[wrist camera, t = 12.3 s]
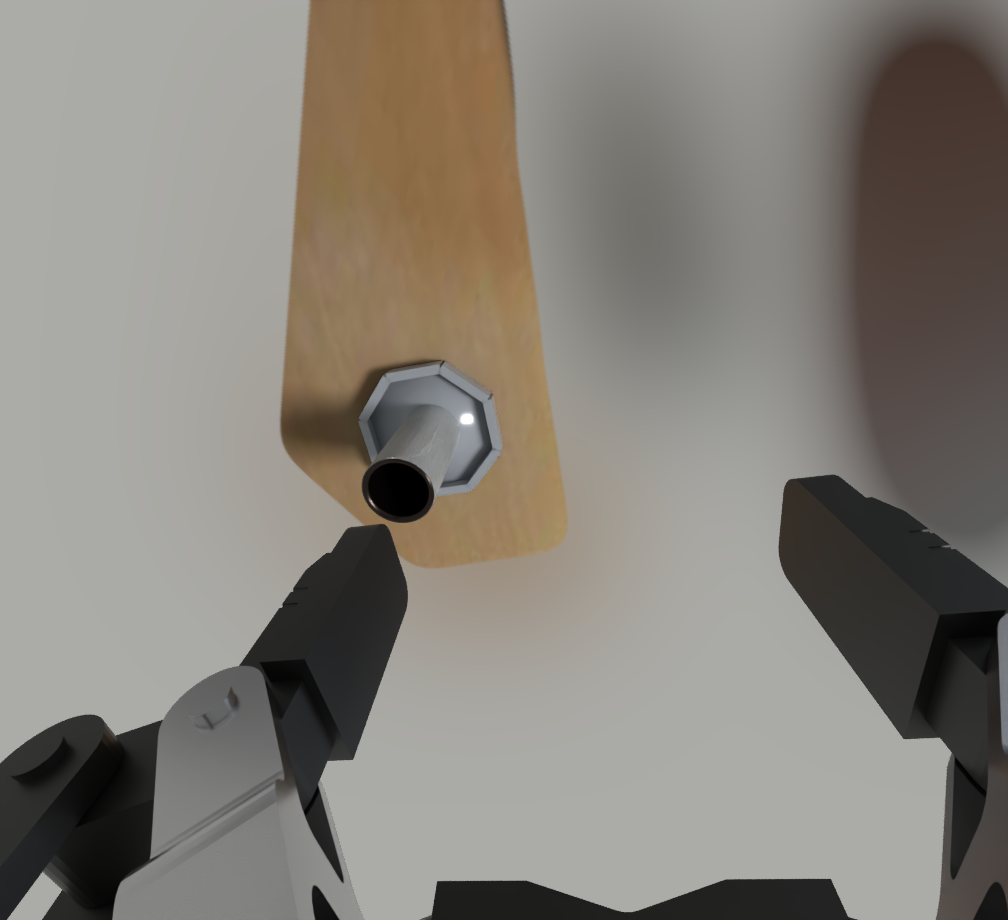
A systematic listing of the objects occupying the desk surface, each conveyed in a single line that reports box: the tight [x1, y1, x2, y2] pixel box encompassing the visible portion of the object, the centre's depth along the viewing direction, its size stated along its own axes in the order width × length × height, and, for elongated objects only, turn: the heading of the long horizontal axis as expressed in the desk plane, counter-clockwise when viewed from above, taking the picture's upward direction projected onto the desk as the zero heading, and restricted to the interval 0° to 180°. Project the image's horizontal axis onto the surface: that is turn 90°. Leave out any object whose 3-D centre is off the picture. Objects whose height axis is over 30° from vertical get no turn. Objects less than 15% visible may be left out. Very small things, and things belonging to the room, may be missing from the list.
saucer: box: [358, 360, 503, 496], centre depth 38 cm, size 11×11×1 cm
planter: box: [362, 405, 460, 523], centre depth 33 cm, size 4×4×10 cm
